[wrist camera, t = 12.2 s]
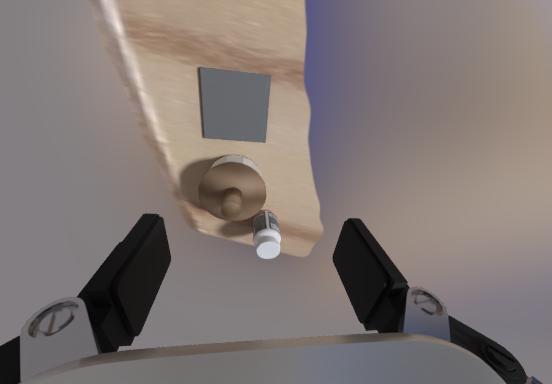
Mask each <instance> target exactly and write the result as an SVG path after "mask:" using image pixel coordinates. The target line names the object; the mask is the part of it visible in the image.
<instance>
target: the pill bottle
mask: <svg viewBox="0 0 552 384" xmlns="http://www.w3.org/2000/svg"><path fill="white" fill-rule="evenodd" d="M253 239H254V244H255V246H256V250H257V254H258V255H259V256H260V257H262V258H264V259H271V258H274V257H276V256H277V255H278V254H279V253H280V241H281V236H280V231H279V226H278V220H277V217H276V215H275V214H274V213H273V212H271V211H267V210H264V211H260V212H258V213H257V214H256V215H255V216H254V218H253Z"/></svg>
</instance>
